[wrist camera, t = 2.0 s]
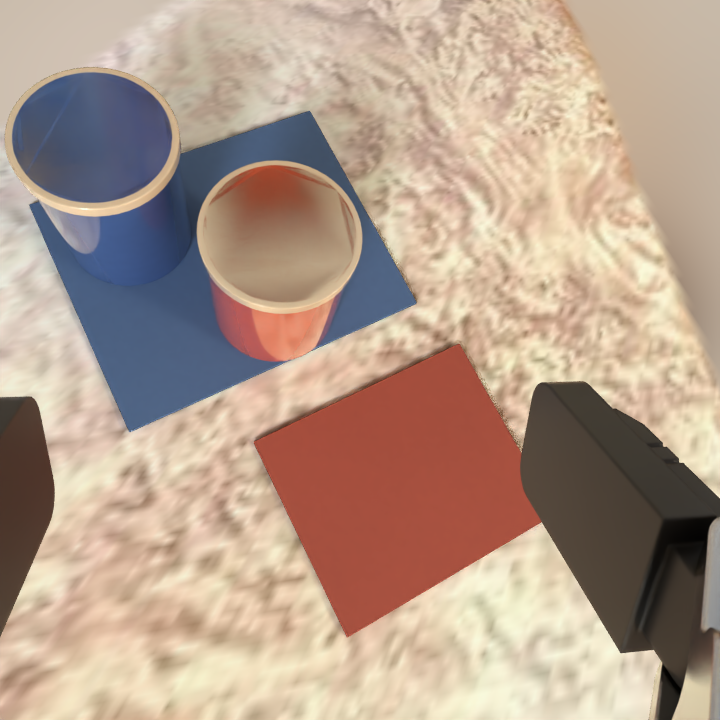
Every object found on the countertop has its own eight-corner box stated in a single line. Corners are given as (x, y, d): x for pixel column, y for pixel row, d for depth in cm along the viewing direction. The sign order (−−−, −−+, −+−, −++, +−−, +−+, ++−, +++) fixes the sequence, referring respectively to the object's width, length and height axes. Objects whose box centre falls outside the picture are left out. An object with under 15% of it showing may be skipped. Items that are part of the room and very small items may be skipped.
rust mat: (346, 636, 29) (347, 637, 29) (253, 442, 31) (253, 441, 31) (553, 514, 32) (555, 513, 32) (458, 344, 34) (459, 343, 34)
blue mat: (129, 432, 30) (129, 431, 30) (30, 206, 33) (29, 204, 32) (415, 304, 34) (416, 302, 34) (309, 112, 37) (309, 110, 37)
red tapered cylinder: (243, 386, 31) (240, 335, 24) (188, 274, 33) (168, 191, 25) (359, 334, 33) (391, 271, 26) (303, 229, 34) (317, 139, 27)
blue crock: (91, 310, 31) (40, 233, 24) (42, 199, 33) (-22, 94, 25) (216, 261, 33) (206, 176, 26) (165, 158, 34) (141, 48, 27)
